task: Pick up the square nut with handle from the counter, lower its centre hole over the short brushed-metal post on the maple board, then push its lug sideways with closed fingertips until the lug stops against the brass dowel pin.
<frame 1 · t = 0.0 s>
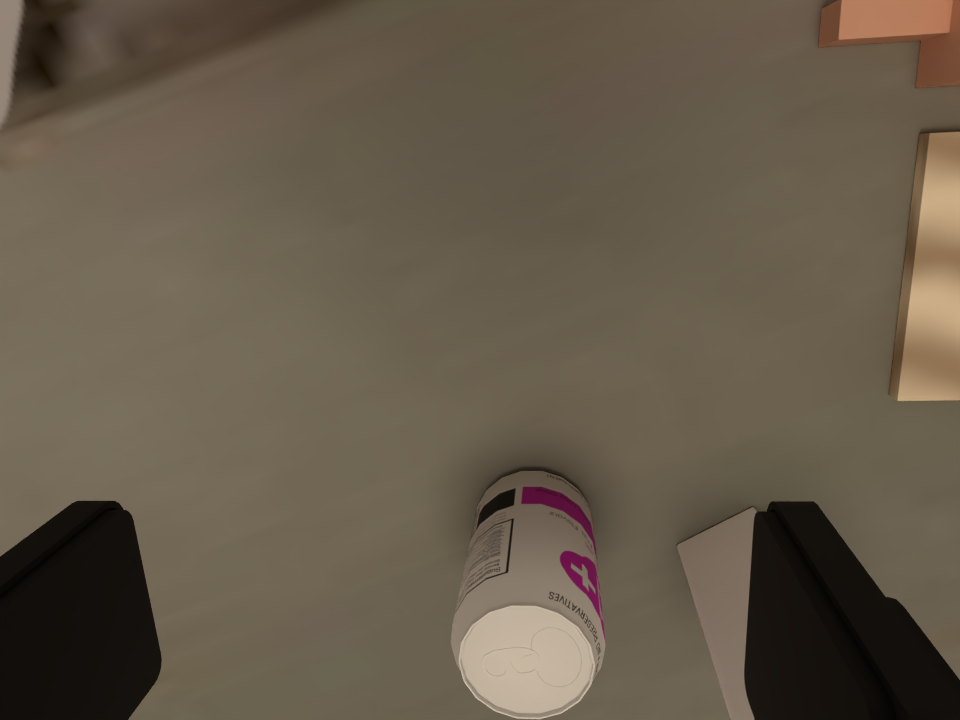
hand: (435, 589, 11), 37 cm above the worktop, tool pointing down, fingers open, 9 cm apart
square nut with handle: (819, 28, 41), on the worktop
milk: (734, 556, 51), on the worktop
supplement can: (533, 517, 51), on the worktop
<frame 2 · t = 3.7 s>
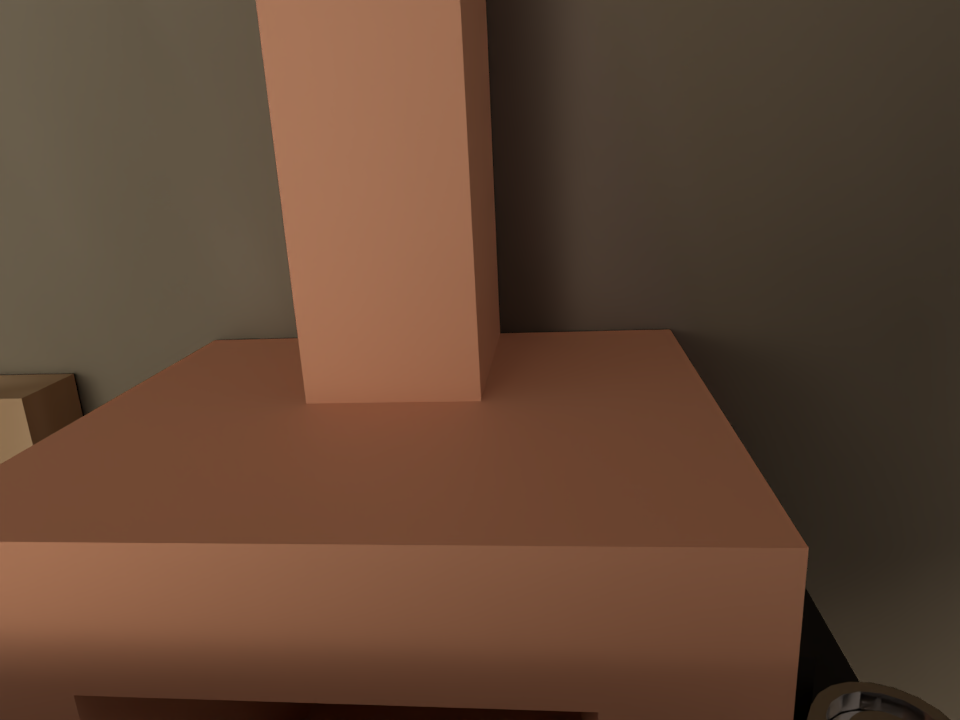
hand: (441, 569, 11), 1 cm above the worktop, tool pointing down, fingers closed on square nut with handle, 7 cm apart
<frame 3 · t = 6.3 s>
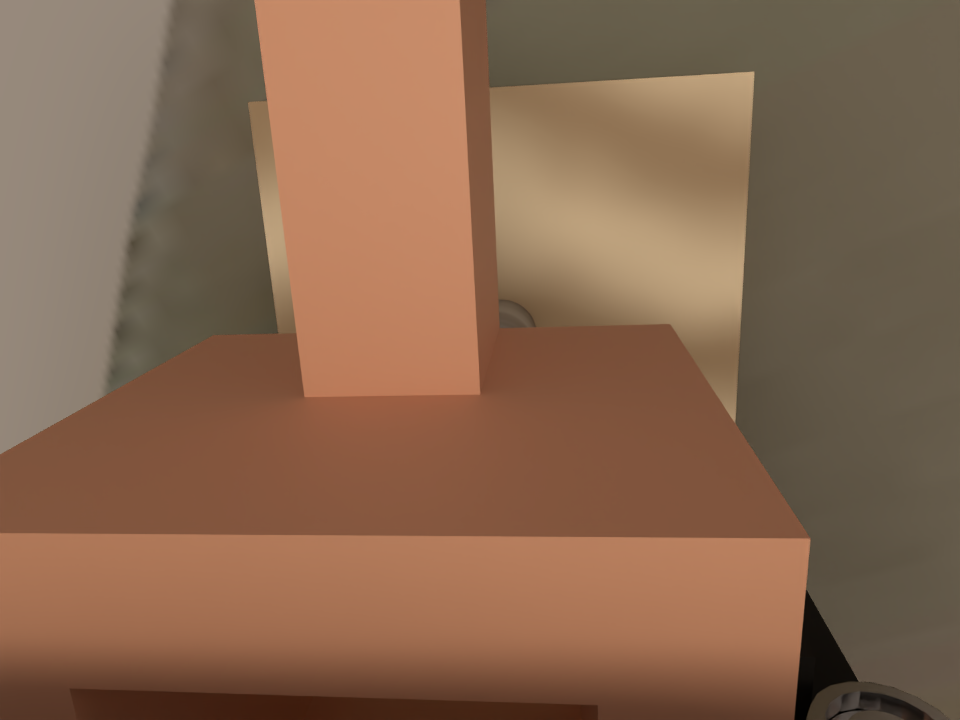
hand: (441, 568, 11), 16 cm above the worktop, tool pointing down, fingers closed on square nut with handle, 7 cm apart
post base: (504, 325, 26), on the worktop
when the fingers open (3 cm above the worktop, at t = 9.1 s): square nut with handle drops 1 cm, resting on post base.
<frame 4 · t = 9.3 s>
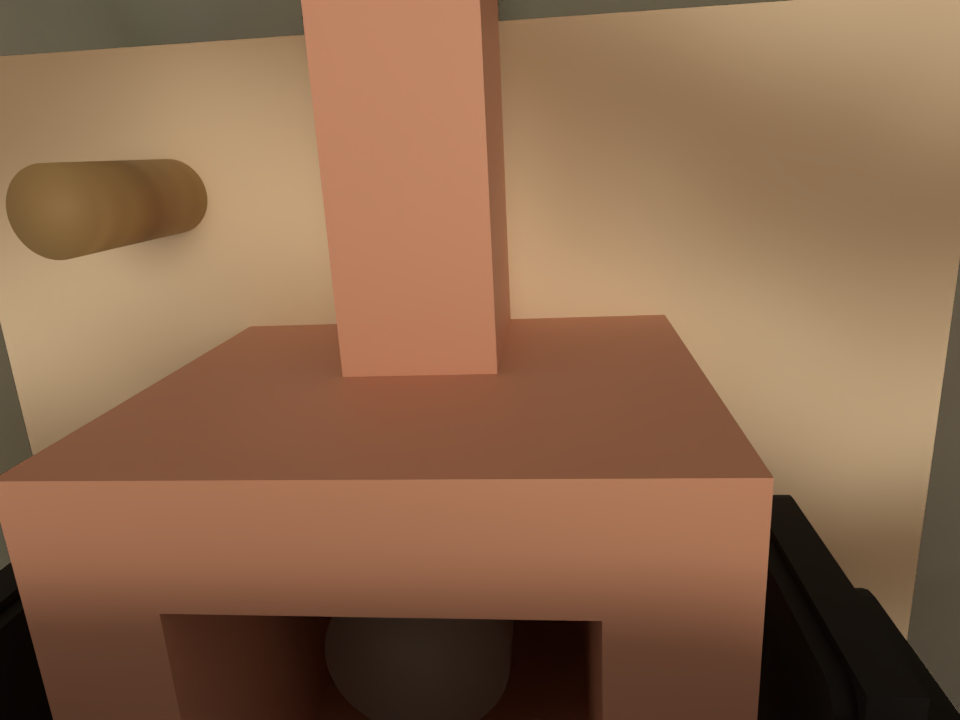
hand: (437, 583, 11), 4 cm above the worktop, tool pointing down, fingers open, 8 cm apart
post base: (464, 478, 14), on the worktop
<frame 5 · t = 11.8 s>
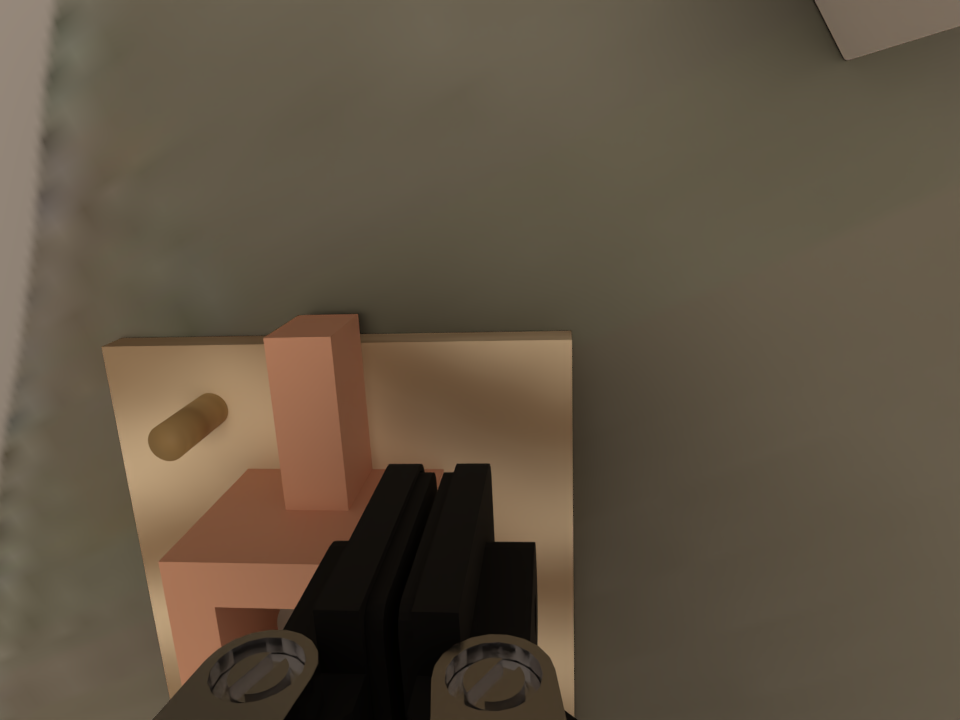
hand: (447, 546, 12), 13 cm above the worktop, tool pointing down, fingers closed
square nut with handle: (328, 314, 23), point 1 cm above the worktop, touching post base
post base: (359, 539, 27), on the worktop
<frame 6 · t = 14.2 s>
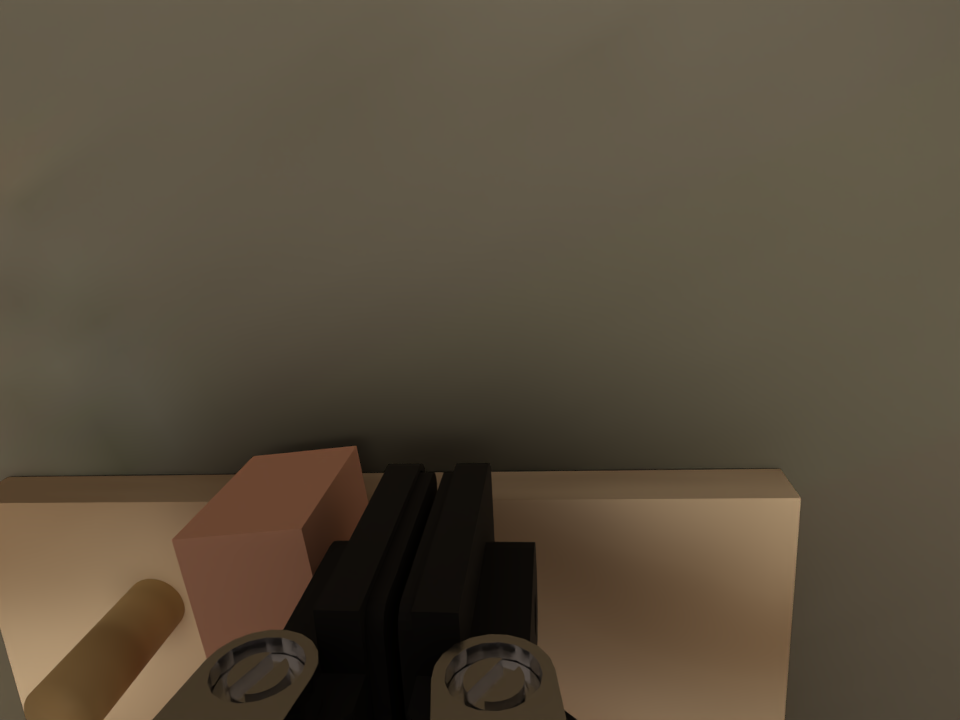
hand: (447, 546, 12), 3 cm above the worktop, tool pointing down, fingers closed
square nut with handle: (304, 450, 13), point 1 cm above the worktop, touching gripper, post base
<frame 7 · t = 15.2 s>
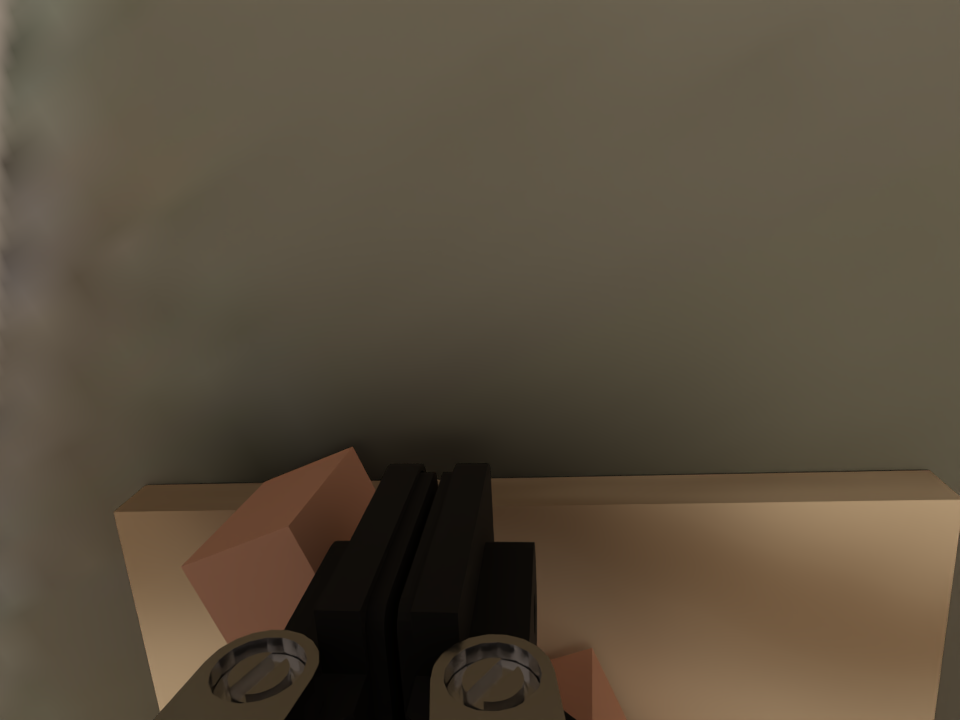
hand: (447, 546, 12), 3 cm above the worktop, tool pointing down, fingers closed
square nut with handle: (307, 464, 14), point 1 cm above the worktop, touching gripper, post base
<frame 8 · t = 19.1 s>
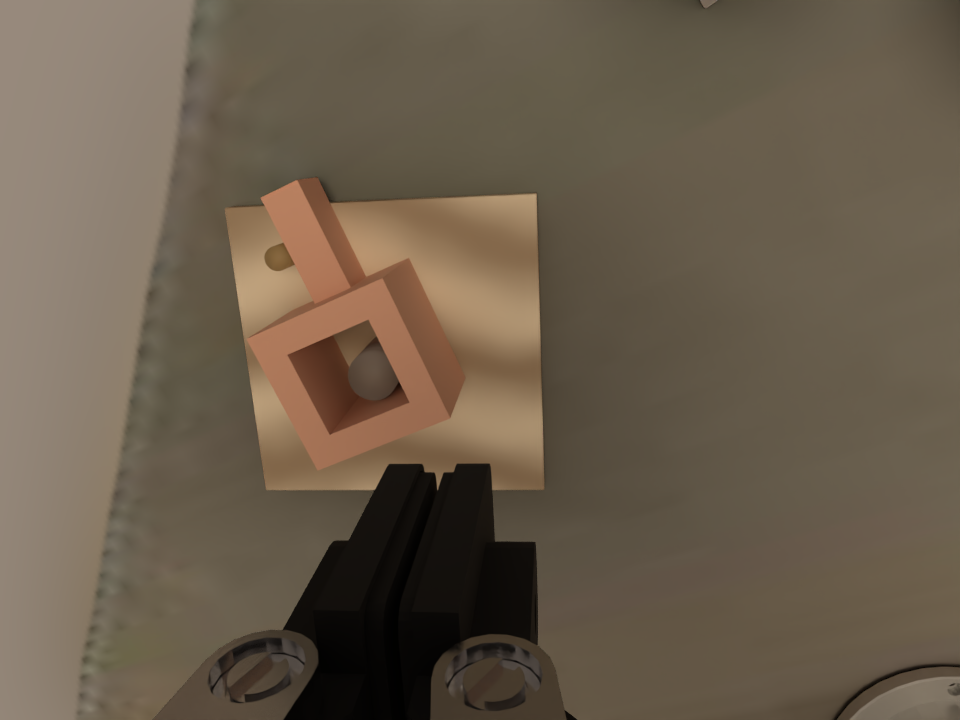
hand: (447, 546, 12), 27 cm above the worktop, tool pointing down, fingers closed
square nut with handle: (300, 185, 36), point 1 cm above the worktop, touching post base
post base: (395, 348, 39), on the worktop
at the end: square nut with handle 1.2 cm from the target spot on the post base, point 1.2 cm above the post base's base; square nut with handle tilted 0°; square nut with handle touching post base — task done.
